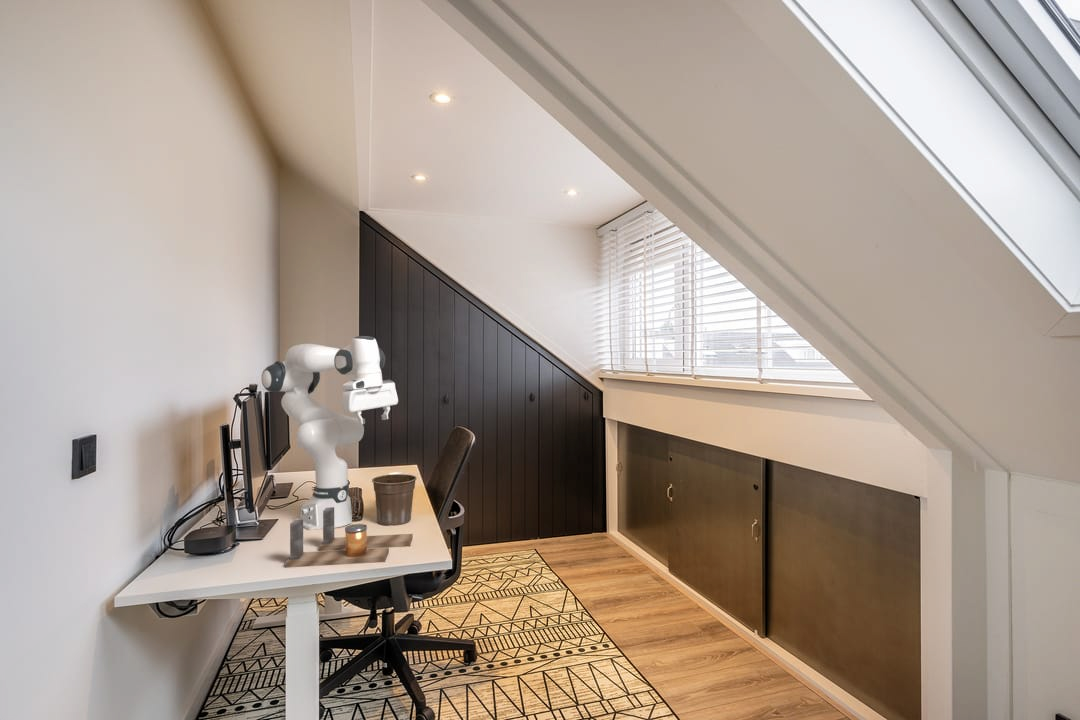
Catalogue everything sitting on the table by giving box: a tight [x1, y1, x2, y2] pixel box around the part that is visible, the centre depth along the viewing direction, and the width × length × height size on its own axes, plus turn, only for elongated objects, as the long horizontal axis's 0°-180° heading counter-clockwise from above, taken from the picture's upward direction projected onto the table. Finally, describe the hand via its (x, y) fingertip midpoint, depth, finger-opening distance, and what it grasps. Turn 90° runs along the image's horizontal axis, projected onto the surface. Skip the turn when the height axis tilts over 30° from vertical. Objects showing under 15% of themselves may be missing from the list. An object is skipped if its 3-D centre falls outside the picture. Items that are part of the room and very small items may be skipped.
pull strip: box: [284, 519, 390, 568], centre depth 161 cm, size 28×8×12 cm, turn 98°
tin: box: [344, 523, 368, 557], centre depth 162 cm, size 6×6×8 cm
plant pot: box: [371, 473, 418, 526], centre depth 202 cm, size 16×16×16 cm
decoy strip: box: [318, 507, 414, 551], centre depth 175 cm, size 28×8×12 cm, turn 98°
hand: (373, 421), depth 186 cm, fingers open, 8 cm apart
